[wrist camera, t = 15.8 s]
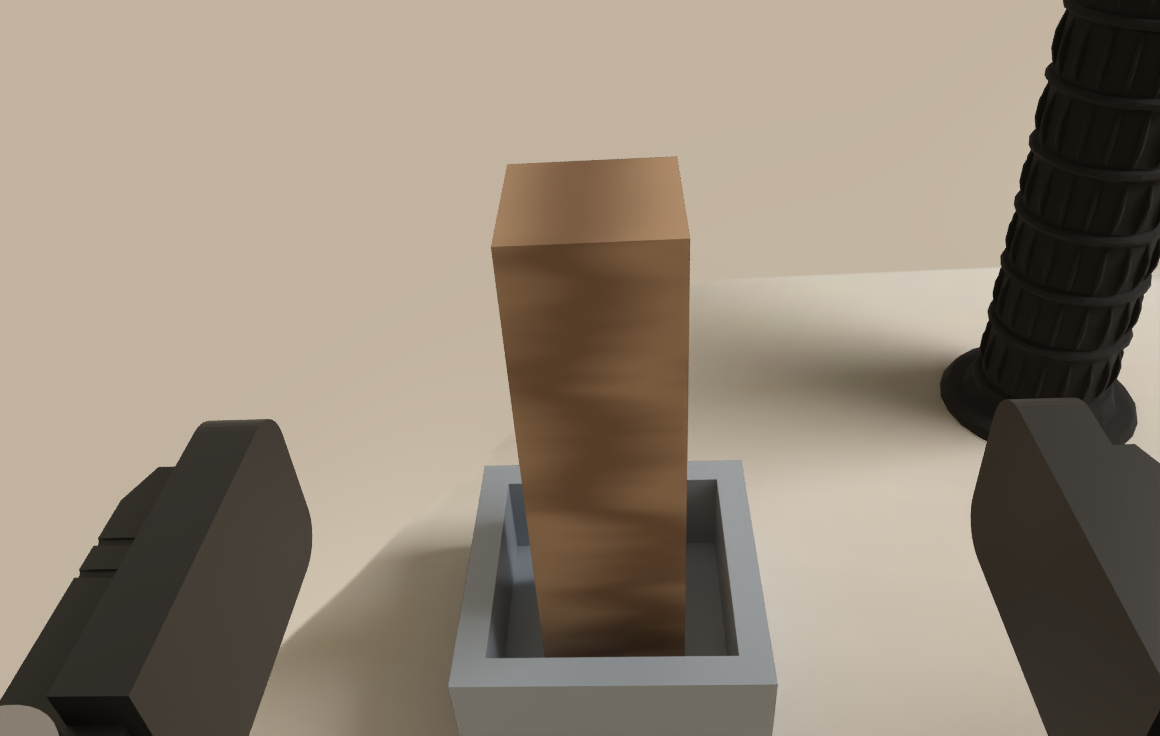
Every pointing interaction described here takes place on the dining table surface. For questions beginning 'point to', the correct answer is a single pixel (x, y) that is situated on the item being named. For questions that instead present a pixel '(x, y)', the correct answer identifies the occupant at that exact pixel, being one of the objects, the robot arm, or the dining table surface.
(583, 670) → the box
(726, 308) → the dining table surface
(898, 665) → the dining table surface
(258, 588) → the robot arm
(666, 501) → the walnut handle block
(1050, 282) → the handle grip
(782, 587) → the dining table surface
